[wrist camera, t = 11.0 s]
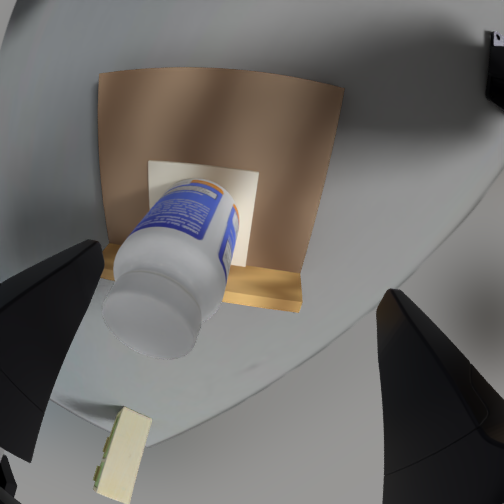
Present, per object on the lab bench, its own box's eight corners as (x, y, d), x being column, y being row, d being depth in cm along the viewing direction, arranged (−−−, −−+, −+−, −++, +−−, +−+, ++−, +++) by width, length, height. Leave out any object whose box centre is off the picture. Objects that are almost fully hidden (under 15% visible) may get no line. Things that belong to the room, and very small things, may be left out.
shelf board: (339, 88, 14) (359, 89, 10) (296, 271, 22) (298, 312, 18) (111, 73, 14) (70, 76, 10) (119, 243, 22) (93, 276, 18)
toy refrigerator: (120, 404, 44) (92, 491, 27) (153, 418, 46) (130, 505, 29) (114, 411, 48) (89, 488, 31) (143, 424, 50) (122, 501, 33)
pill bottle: (146, 209, 18) (67, 310, 10) (201, 158, 16) (124, 247, 8) (200, 262, 20) (158, 378, 12) (259, 222, 18) (241, 349, 10)
